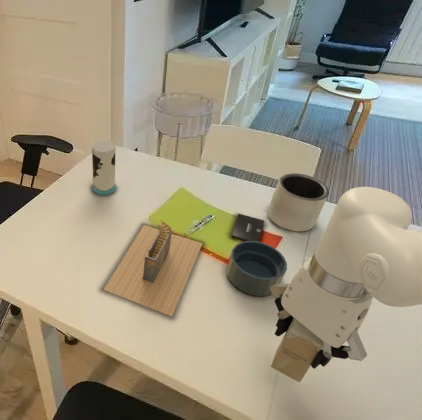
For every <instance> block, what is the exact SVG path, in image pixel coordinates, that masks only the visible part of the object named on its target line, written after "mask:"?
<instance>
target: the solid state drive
mask: <svg viewBox="0 0 422 420" xmlns="http://www.w3.org/2000/svg"><path fill="white" fill-rule="evenodd" d="M264 223H265V220H264V219H260V218H257V217H253V216H249V215H246V214H241V213H238V214H237V217H236V219H235V224H234V226H233V230H232V233H231V238H234V239H238V240H242V241H243V242H245V241H258V242H261V237H262V233H263V229H264V228H263V227H264Z"/></svg>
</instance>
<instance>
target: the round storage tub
mask: <svg viewBox="0 0 422 420" xmlns="http://www.w3.org/2000/svg"><path fill="white" fill-rule="evenodd" d="M287 270H288V263H287V260H286V258H285V256H284V255H283V254H282V253H281V252H280V250H278V249H276V248H275V247H274V246H272V245H271V244H268V243H265V242H262V241H259V242H258V241H246V240H245V241H241V242H239V243H237V244H235V245H234V247H233V248H232V249H231V252H230V255H229V258H228V262H227V266H226V270H225V272H226V275H227V278H228V280H229V281H230V283H231V284H232V285H233V286H234V287H236V288H237V289H238V290H240V291H241V292H244V293H245V294H249V295H252V296H258V297H259V296H260V297H265V296H270V295H272V292H271V290H270V287H271V286H273V285H275V284H282V281H283V279H284V277H285V275H286V273H287Z"/></svg>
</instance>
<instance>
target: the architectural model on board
mask: <svg viewBox="0 0 422 420" xmlns="http://www.w3.org/2000/svg"><path fill="white" fill-rule="evenodd" d="M157 227H158V228H154V227H151V226H149V225H146V224H143V226H142V227H141V229H140V231H139V232H138V233H137V235H136V237H135V238H134V240H133V242H132V243H131V245H130V246H129V248H128V250H126V253H125V254H124V256H123V258H122V259H121V261H120V262H119V264H118V266H117V267H116V269H115V270H114V272H113V274H112V276H111V277H110V278H109V280H108V282H107V283H106V285H105V286H104V288H103V291H106V292H107V293H108V292H109V293H111V294H113V295H115V296H118V297H121V298H123V299H126V300H129V301H131V302H134V303H136V304H138V305H141V306H144V307H146V308H149V309H151V310H154V311H156V312H159V313H161V314H163V315H164V314H165V315H167V316H169V317H173V316H174V314H175V311H176V308H177V306H178V304H179V301H180V299H181V296H182V295H183V291H184V290H185V286H186V284H187V282H188V279H189V277H190V275H191V273H192V270H193V267H194V265H195V263H196V260H197V258H198V255H199V253H200V250H201V248H202V246H203V243H202V242H200V241H197V240H193V239H190V238H187V237H184V236H181V235H177V234H175V233H173V229H172V226H170V225H169V224H167V223H165V222H164V221H163V220H161V221H160V223H159V224H157Z"/></svg>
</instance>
